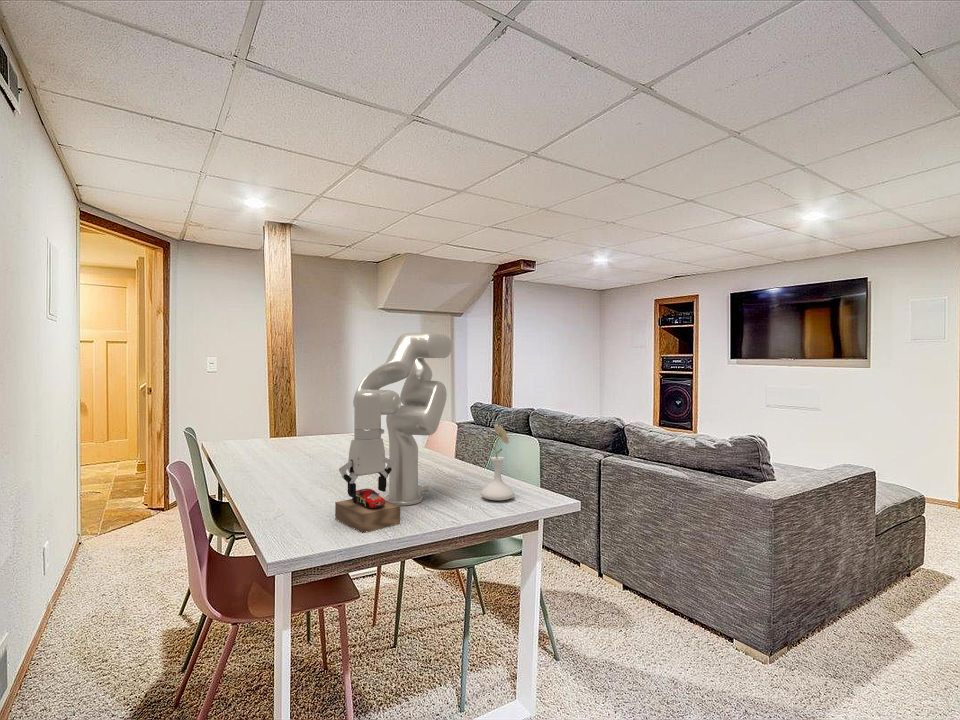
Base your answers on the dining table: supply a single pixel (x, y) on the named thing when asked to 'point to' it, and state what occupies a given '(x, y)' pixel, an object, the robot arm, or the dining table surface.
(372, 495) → the race car
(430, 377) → the robot arm
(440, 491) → the dining table surface
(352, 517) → the walnut riser block
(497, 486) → the flower in vase
